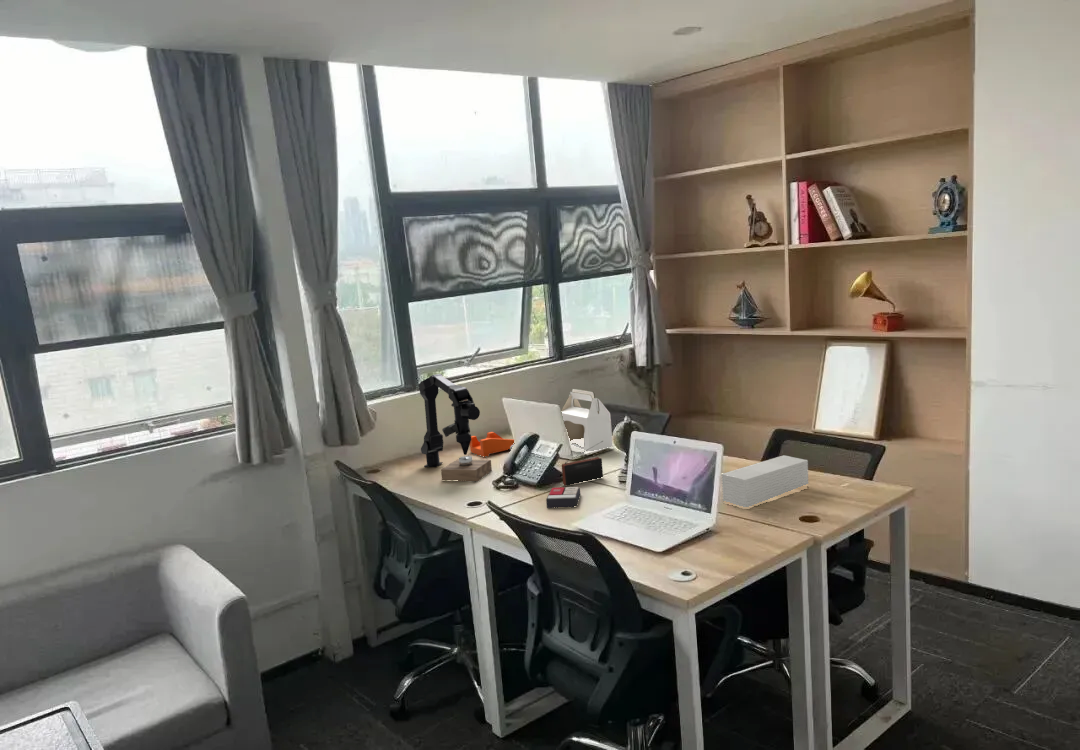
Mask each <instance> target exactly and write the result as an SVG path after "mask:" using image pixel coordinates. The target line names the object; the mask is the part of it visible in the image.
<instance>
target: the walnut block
mask: <svg viewBox="0 0 1080 750" xmlns="http://www.w3.org/2000/svg"><path fill="white" fill-rule="evenodd" d="M472 462H473V464H472V465H470V466H460V465H459V458H457V459H455V460H454V461H452V462H450V463H449V464H448V465H445V467H442V468H441V469H440V475H441V481H442V480H458V481H457V482H465V481H477V482H478V481H480V480H481V479H483V478H484V477H486V476H487V475H488V474H489V472H490V473H492V460H491V459H474V458H472ZM486 474H487V475H486ZM482 477H483V478H482ZM479 479H480V480H479Z"/></svg>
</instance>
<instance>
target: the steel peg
mask: <svg viewBox="0 0 1080 750" xmlns="http://www.w3.org/2000/svg"><path fill="white" fill-rule="evenodd" d="M458 459H459V465H460V466H470V465H472V464H473V462H472V459H473V456H471V455H463V456H460V457H458Z"/></svg>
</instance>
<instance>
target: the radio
mask: <svg viewBox="0 0 1080 750" xmlns="http://www.w3.org/2000/svg"><path fill="white" fill-rule="evenodd" d="M601 442H603V441H601ZM601 442H600V443H601ZM598 444H599V443H598ZM596 445H597V444H596ZM593 447H594V446H593ZM591 448H592V447H591ZM589 449H590V448H589ZM589 449H588V450H589ZM586 451H587V450H586ZM584 452H585V451H584ZM584 452H582V453H584ZM582 453H578V454H577V455H576V456H574V457H572V458H570V459H569V460H567V461H565V462H564V463H562V464H561V473H562V474H561V475H562V485H563V484H564V485H563V486H565V485H570V484H574V483H579V482H583V481H588V480H592V479H597V478H601V477H603V478H604V471H603V459H602V458H601V457H598V456H596V457H591V458H587V459H581V460H576V461H571V460H573V459H576V458H577V457H578V456H580V455H583V454H582Z"/></svg>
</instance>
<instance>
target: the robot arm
mask: <svg viewBox="0 0 1080 750" xmlns="http://www.w3.org/2000/svg"><path fill="white" fill-rule="evenodd" d="M439 389H441V390H442V391H443V392H445V394H447V395H448V399H450V401H451V402H452V403H451V405H450V406H451V407H453V411H454V412H453V413H454V421H453V423H451V424H449V425H447V426H445V427H443V428H442V433H443V434H442V433H441V432H439V429H438V428H439V427H438V416H437V415H438V414H437V402H436V401H437V400H436V399H437V397H438V394H439ZM418 390H419V394H420V396H421V398H422V399H423V400H424V401H423V402H424V412H425V413H424V414H425V422H426V424H425V425H426V431H425V434H424V436H423V443H422V446H421V447H420V452H421V454H423V455H425V456H426V457H425V458H426V460H425V461H426V464H425V465H424V466H423V467H425V468H438V467H440V466H441V465H442V463H443V462H442V461H440V452H443V450H444V437H445V438H447V437H449V436H450V435H453V434H454V433H455V439H456V441H455V442H457V443H459V444H460V446H461V449H462V453H463V456H468V451H469V448H470V442H471V436H472V434H471V428H470V420H472V421H476V420H478V418H479V417H480V415H481V411H480V409H479V407H477V406H476V403H475V402H474V400H473V397H472V395H471V394H470V391H469V390H468V388H467V387H465V386H462V385H457V384H455V383H453V382H452V381H450V380H449V379H447V378H446V377H445V376H443V374H441V373H435V374H432V375H430V376H429V377H426V379H424V380H421V381H420V383H419V384H418ZM440 464H441V465H440ZM437 466H438V467H437Z"/></svg>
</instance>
